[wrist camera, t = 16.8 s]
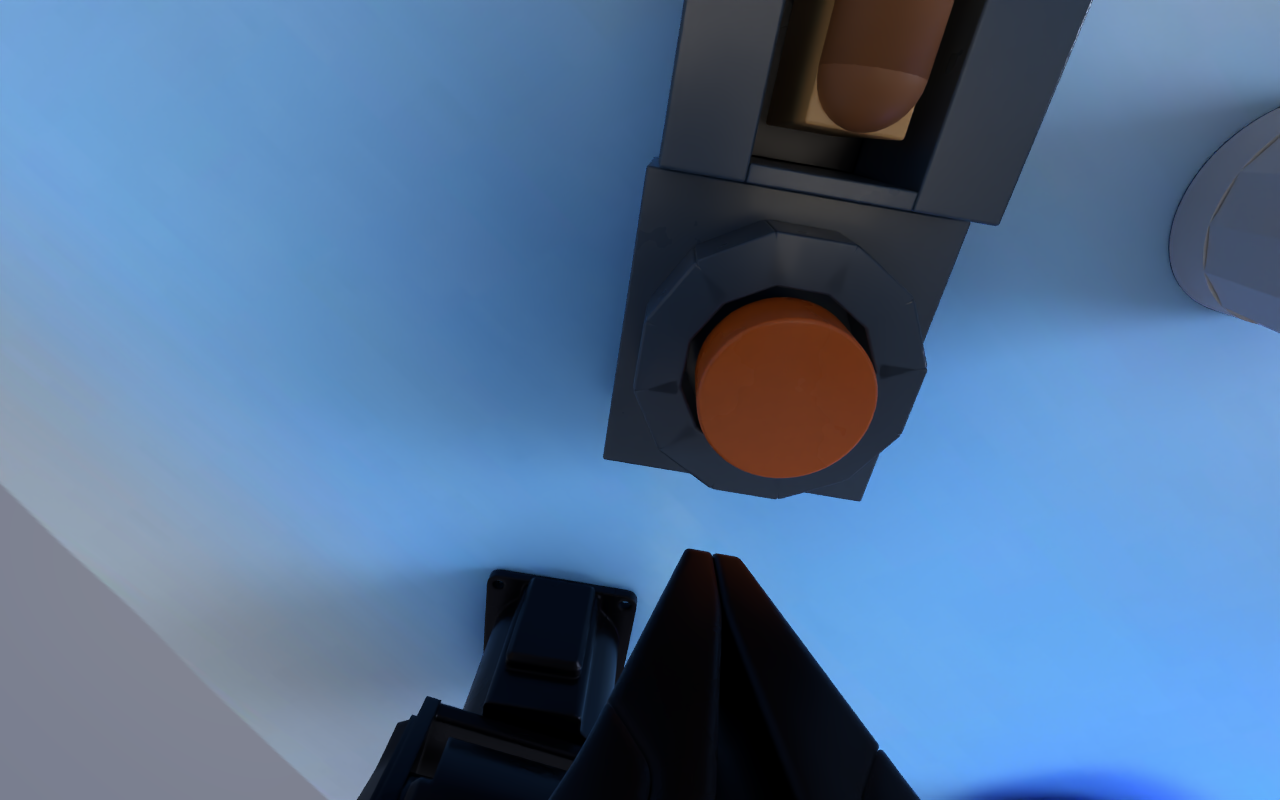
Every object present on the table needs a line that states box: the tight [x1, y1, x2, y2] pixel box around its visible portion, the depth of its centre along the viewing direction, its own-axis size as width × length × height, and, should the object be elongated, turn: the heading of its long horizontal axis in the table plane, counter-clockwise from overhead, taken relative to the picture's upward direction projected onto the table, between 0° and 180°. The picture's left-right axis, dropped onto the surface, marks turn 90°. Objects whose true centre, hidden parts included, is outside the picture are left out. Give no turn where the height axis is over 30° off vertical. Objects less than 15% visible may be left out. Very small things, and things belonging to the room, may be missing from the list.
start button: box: [695, 297, 878, 478], centre depth 14 cm, size 4×4×2 cm
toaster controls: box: [603, 157, 970, 501], centre depth 17 cm, size 8×8×6 cm
